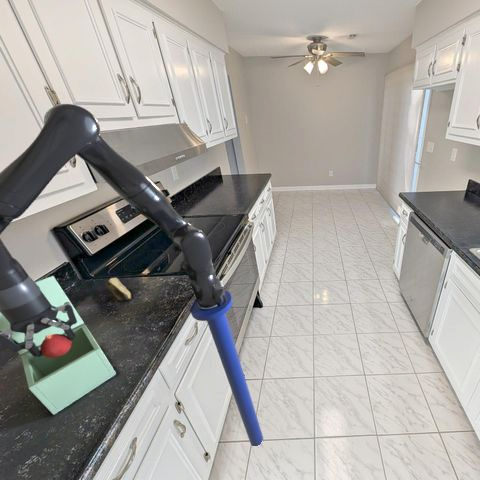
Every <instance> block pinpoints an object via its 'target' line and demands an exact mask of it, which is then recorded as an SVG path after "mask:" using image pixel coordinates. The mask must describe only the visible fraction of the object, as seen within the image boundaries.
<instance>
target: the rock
mask: <svg viewBox="0 0 480 480" xmlns="http://www.w3.org/2000/svg"><path fill="white" fill-rule="evenodd" d="M104 285H105V286H106V287H107V289H109V291H110V292H111V293H112V294H113V295H114V296H115V297H116V299H117V300H118V301H127V300H131V299H132V293H131V292H130V291H129V290H128V289H127V287H126V286H125V285H124V284H123V283H122V282H121V281H120V279H118V277H117V276H116V277H110V278H109V279H108V280H107V281H106V282H105V283H104Z"/></svg>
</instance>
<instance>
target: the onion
mask: <svg viewBox="0 0 480 480" xmlns="http://www.w3.org/2000/svg"><path fill="white" fill-rule="evenodd" d="M63 334H64V333H63ZM63 334H53V335H51V334H49V335H47V336H46V337H45V338H46V339H44V341H43V342H42V344H41V345H40V346H41V347H40V351H41V353H42V354H43V355H44V356H45V357H48V358H56V357H62V356H64V355H65V354H66V353H67V352H68V351H69V349H70V347H71V340H70V339H69V338H68V336H66V335H63Z"/></svg>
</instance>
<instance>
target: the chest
mask: <svg viewBox="0 0 480 480" xmlns="http://www.w3.org/2000/svg"><path fill="white" fill-rule="evenodd" d="M72 330H73V332H74V333H75V337H73V338H74V339H73V340H71V347H70V349H69V351H68V352H67V353H66V354H65V355H64V356H62V357H56V358H48V357H45V356H44V355H43V354H42V356H40V357H38V356H36V357H34V356H32V354H31V353H30V352H29V351H27V352H25V353H23V354H21V355H20V357H21V362H22V365H23V370H24V374H25V379H26V383H27V387H28V390H29V391H30V393H32V394H33V395H34V396H35V397H36V398H37V399H38V400H39V401H40V402H41V404H42V405H44V407H46V409H47V410H48V411H49V412H50V413H51V414H52V415H53V416H54V415H56V414H58V413H59V412H61V411H62V410H64V409H65V408H67V407H68V406H70V405H71V404H73V403H75V402H76V401H77V400H79V399H80V398H82V397H84V396H85V395H86V394H88V393H90V392H92V391H93V390H94V389H96V388H97V387H99V386H101V385H102V384H104V383H105V382H106V381H108V380H110V379H111V378H114V377H115V376H116V375H117V372H116V370H115V369H114V368H113V365H112V364H111V363H110V361H109V359H108V358H107V356H106V355H105V353H104V351H103V350H102V348H101V347H100V345H99V344H98V342H97V340H96V339H95V337H94V336H93V334H92V332H91V331H90V330H89V328H88V327H87V325H86V324H85V323H83V324H81V325H79V326H77V327H75V328H73V329H72ZM63 335H66V333H63ZM66 336H67V335H66ZM37 347H38V348H39V349H40V347H41V345H39V346H37Z"/></svg>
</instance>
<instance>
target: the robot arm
mask: <svg viewBox="0 0 480 480" xmlns="http://www.w3.org/2000/svg"><path fill="white" fill-rule="evenodd" d="M100 126H101V125H100V124H99V121H98V119H97V118H96V116H94V114H92V112H90V111H89V110H88V109H86V108H84V107H83V106H81V105H77V104H74V103H73V104H71V103H60V104H56V105H54V106H52V107H51V108H49V109H48V110H47V111H46V112H45V113H44V116H43V127H42V128H41V130H40V131H39V132H38V135H37V136H36V137H35V138H34V140H33V141H32V143H30V145H29V146H28V147H27V148H26V149H25V150H24V151H23V152H22V153H21V154H19V156H18V157H17V158H15V159H14V160H12V162H10V163H9V164H8V165H7V166H5V168H3V169H2V171H0V236H1V235H2V233H3V232H4V231H5V230H6V229H7V228H8V227H9V225H10V224H11V223H12V222H13V221H14V220H16V219H18V218H20V217H21V216H22V215H24V213H25V212H26V211H27V210H28V209H29V208H30V207H31V206H32V205H33V203H34V202H35V201H36V200H37V198H38V197H39V196H40V195H41V194H42V193H43V191H44V190H45V189H46V187H47V186H48V185H49V184H50V182H52V180H53V179H54V178H55V177H56V175H57V174H58V173H59V172H60V170H62V168H64V166H65V165H66V164H67V163H69V161H71V160H72V159H73V158H74V157H75V156H78V157H79V158H80V159H82V161H84V162H85V163H87V165H88V166H90V167H91V168H92V169H93V170H94V171H95V172H96V173H97V174H98V175H99V176H100V177H101V178H102V179H103V180H104V181H105V183H107V184H108V185H109V186H110V187H111V189H113V190H114V191H115V193H117V194H118V196H119V197H121V198H122V199H123V200H124V201H125V202H126V203H127V204H129V205H130V206H131V207H132V208H133V209H134V210H136V211H137V212H138V213H140V215H142V216H143V217H144V218H146V219H147V220H149V221H151V222H152V223H154V224H155V225H156V226H157V227H158V228H159V229H161V231H163V232H164V234H165V235H166V236H167V237H168V238H169V239H170V241H171V242H172V243H173V245H175V247H177V249H179V250H180V251H181V254H182V257H183V258H184V264H183V265H184V269H185V271H186V274H187V278H188V281H189V284H190V285H191V288H192V291H193V294H194V296H195V299H197V302H198V306H199V308H200V309H202V310H211V309H214V308H216V307H218V306H221V304H223V305H224V304H225V303H226V301H227V298H226V297H225V291H226V290H225V288H223V287H222V284H221V280H220V278H219V277H217V275H216V271H215V268H214V264H213V261H212V260H213V255H212V250H211V246H210V242H209V239H208V236H207V235H206V233H205V232H203V230H201V229H199V228H197V227H196V226H194V225H192V224H190V223H189V222H188V221H187V220H185V219H184V218H183V216H181V215H180V214H179V213H178V212H177V211H176V210H175V209H174V207H173V205H172V204H171V202H170V200H169V199H168V198H167V197H168V196H166V195H165V193H164V192H163V191H162V190H161V189H160V188H159V186H158V185H157V184H156V183H154V181H153V180H152V179H151V178H150V177H149V176H148V175H147V174H146V173H144V172H143V171H142V170H141V169H139V168H138V167H137V166H135V165H134V164H133V163H131V162H130V161H128V160H127V159H126V158H124V157H123V156H122V155H120V154H119V153H118V152H117V151H116V150H115V149H114V148H113V147H112V146H111V145H110V144H109V143H108V141H107V140H106V139H105V138H104V136H102V135H101V127H100ZM35 282H36V281H34V279H33V278H31V277H30V275H29V274H28V273H27V271H26V270H25V268H24V267H23V265H22V264H21V263H20V261H18V259H16V258H15V257H13V256H12V254H11V252H10V251H9V249H8V248H7V247H6V245H5V244H4V242H3V240H2V239H1V238H0V312H1V313H2V315H3V316H4V317H5V318H6V319H7V321H8V322H9V323H10V328H8V329H6V330H4V331H0V343H1V344H2V345H3V346H5V347H6V348H8V349H9V350H11V351H13V352H14V353H18V351H20V350H22V349H27V350H28V351H27V352H30V353H31V354H32V356H34V357H36V356H38V357H40V356H42V353H41V351H40V349H39V348H38V347H39V346H36V345H35V343H34V342H33V336H34V333H35V334H36V333H38V332H40V331H42V330H43V329H47V328H49V327H51V326H54V327H57V328H61V329H63V330H64V332H65V333H66V335H67V336H68V338H69V339H70V340H73V339H74V338H73V337H75V333H74V332H73V329H71V326H72V325H73V324H76V323H77V320H76V317H75V314H74V312H73V309H72V306H71V305H70V303H69V302H66V303H64V305H62V306H58V307H55V306H52V305H51V304H50V302H49V301H48V300H47V298H46V297H45V295H44V294H43V293H42V291H41V290H40V287H39V286H38V285H37V284H36V283H35ZM224 290H225V291H224ZM223 299H225V300H224V302H223V303H222V301H223ZM58 311H62V313H67V315H68V318H69V320H68V321H66V322H65V321H63V320H60V319H59V318H57V317H56V316H57V313H58ZM13 331H14V332H20V333H24V342H22V343H18V342H17V341H16V340H14V339H13V338H11V337H12V332H13ZM65 333H64V334H65Z"/></svg>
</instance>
